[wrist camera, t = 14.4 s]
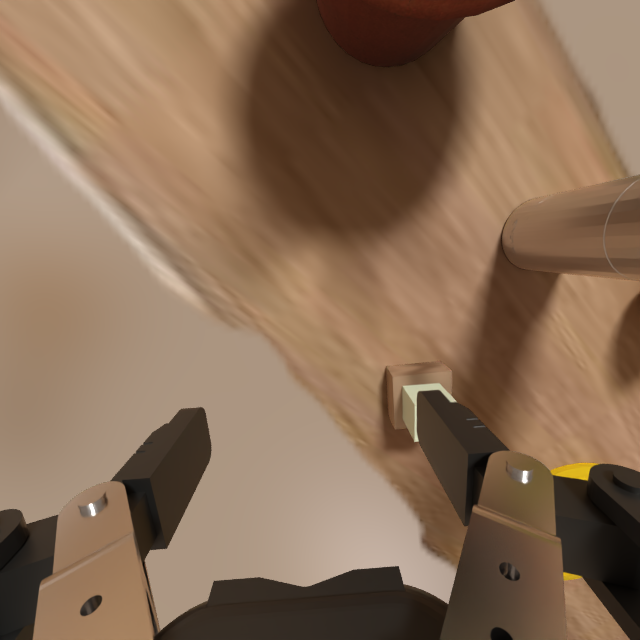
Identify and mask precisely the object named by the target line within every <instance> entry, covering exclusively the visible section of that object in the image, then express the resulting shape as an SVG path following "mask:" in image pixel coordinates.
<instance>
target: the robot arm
mask: <svg viewBox="0 0 640 640" xmlns="http://www.w3.org/2000/svg"><path fill="white" fill-rule="evenodd" d="M502 245H503V249H504V252H505V254H506V256H507V258H508V259H509V260H510V262H511V263H513V264H514V265H515V266H517V267H519V268H522V269H526V270H534V271H544V272H553V273H563V274H573V275H584V276H594V277H604V278H614V279H624V280H635V281H640V175H636V176H631V177H627V178H623V179H618V180H614V181H610V182H605V183H601V184H596V185H592V186H588V187H583V188H579V189H574V190H570V191H566V192H561V193H556V194H552V195H548V196H543V197H539V198H535V199H531V200H529V201H527V202H525V203H523V204H521V205H520V206H519V207H518V208H516V209H515V210H514V212H513V213H512V214H511V215H510V217H509V218H508V220H507V222H506V224H505V227H504V229H503V235H502ZM417 436H418V440H419V444H420V446H421V448H422V450H423V452H424V453H425V455H426V457H427V459H428V461H429V463H430V464H431V466H432V468H433V470H434V472H435V473H436V475H437V477H438V479H439V481H440V483H441V484H442V486H443V488H444V490H445V492H446V494H447V495H448V497H449V499H450V501H451V503H452V505H453V506H454V508H455V510H456V512H457V514H458V515H459V517H460V519H461V521H462V523H463V525H464V526H468V529H467V533H466V537H465V541H464V545H463V549H462V553H461V557H460V561H459V565H458V569H457V573H456V577H455V581H454V584H453V588H452V592H451V596H450V601H449V604H447V603H445V602H444V601H442V600H441V599H439V598H437V597H436V596H434V595H432V594H430V593H428V592H426V591H424V590H421V589H418V588H415V587H412V586H409V585H404V584H403V581H402V577H401V573H400V570H399V566H395V567H382V568H370V569H357V570H352V571H349V572H346V573H344V574H341V575H338V576H336V577H333V578H330V579H328V580H325V581H322V582H320V583H317V584H315V585H312V586H308V587H301V586H296V585H292V584H287V583H283V582H278V581H274V580H269V579H264V578H260V577H258V578H246V579H233V580H221V581H214V582H213V586H212V589H211V592H210V596H209V599H208V601H206V602H204V603H202V604H199V605H197V606H195V607H193V608H192V609H190V610H188V611H187V612H185V613H183V614H182V615H180V616H179V617H177V618H176V619H175V620H173V621H172V622H171V623H169V624H168V625H167V626H166V627H164V628H163V629H162V630H161V631H160V627H159V623H158V618H157V613H156V608H155V604H154V600H153V595H152V591H151V586H150V581H149V577H148V572H147V567H146V564H145V558H146V556H147V554H148V553H149V551H150V550H156V549H167V547H168V545H169V543H170V541H171V539H172V537H173V535H174V533H175V531H176V529H177V527H178V525H179V523H180V521H181V518H182V516H183V514H184V512H185V510H186V508H187V506H188V504H189V502H190V500H191V498H192V496H193V494H194V492H195V490H196V488H197V485H198V484H199V481H200V479H201V477H202V475H203V473H204V471H205V469H206V467H207V465H208V463H209V461H210V457H211V440H210V435H209V429H208V424H207V418H206V413H205V410H204V409H203V408H202V407H200V408H188V409H187V408H186V409H181V410H179V412H178V413H177V414H176V415H175V416H174V418H173V419H172V420H171V421H170V422H169V423H168V424H164V425H163V426H162V427H160V428H159V429H157V430H156V431H154V432H153V433H152V434H151V435H150V436H149V437H148V438H147V440H146V441H145V442H144V444H143V445H141V446H140V448H139V449H138V450H137V451H136V454H133V456H132V457H131V458H130V459H129V460H128V461H127V462H126V464H125V465H124V466H123V467H122V468H121V469H120V471H119V472H118V473H117V474H116V475H115V476H114V477H113V479H112V480H111V481H110V482H104V483H101V484H98V485H95V486H92V487H90V488H88V489H86V490H84V491H83V492H81V493H79V494H78V495H76V496H75V497H74V498H72V499H71V500H70V501H69V502H68V503H67V504H66V505H65V506H64V507H63V508H62V510H61V511H60V513H59V515H56V516H52V517H49V518H46V519H43V520H39V521H36V522H32V523H29V524H26V522H25V520H24V517H23V514H22V512H21V511H20V510H17V509H9V510H3V511H0V640H567V627H566V610H565V594H564V578H563V572H565V573H569V574H573V575H578V576H582V577H583V578H584V580H585V581H586V582H587V584H588V585H589V586H590V588H591V589H592V590H593V592H594V593H595V594H596V596H597V597H598V598H599V599H600V601H601V602H602V603H603V605H604V606H605V607H606V609H607V610H608V611H609V613H610V614H611V615H612V617H613V618H614V619H615V620H616V622H617V623H618V624H619V626H620V627H621V628H622V630H623V631H624V632H625V634H626V635H627V636H628V637H629V639H630V640H640V472H638V471H635V470H632V469H629V468H626V467H623V466H618V465H613V464H598V465H594V466H593V467H591V469H590V471H589V477H588V480H582V479H575V478H569V477H562V476H556V475H552V473H551V472H550V470H549V469H548V468H547V467H546V466H545V465H544V464H542V463H541V462H540V461H538V460H536V459H534V458H533V457H530V456H528V455H526V454H523V453H519V452H514V451H510V450H509V449H508V448H507V447H506V446H505V445H504V444H503V443H502V442H501V441H500V440H499V439H498V438H497V437H496V436H495V435H494V434H493V433H492V432H491V431H490V430H489V429H488V428H487V427H485V425H484V424H483V423H482V422H481V421H480V420H478V418H477V417H476V416H475V415H474V414H473V413H472V412H471V411H470V409H468V408H466V407H464V406H463V405H461V404H459V403H457V402H450V401H449V400H448V399H447V397H446V396H445V395H444V394H443V393H442V392H441V391H440V390H428V391H418V393H417Z"/></svg>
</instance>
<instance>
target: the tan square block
mask: <svg viewBox="0 0 640 640" xmlns="http://www.w3.org/2000/svg"><path fill="white" fill-rule="evenodd" d="M386 376H387V398H388V416H389V418H390V420H391V422H392V425H393V427H394V429H395V430H397V429H407V426H406V424H405V423H404V421H403V397H402V386H409V385H422V384H435V383H440V384H441V385H442V387H443V388H444V389H445V390H446V391H447V392H448V393H449V394H450V395H451V396H452V370H450V369H449V368H448V367H447V366H446V365H445V364H444V363H442V362H441V361H436V362H426V363H415V364H405V365H395V366H386Z"/></svg>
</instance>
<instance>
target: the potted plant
mask: <svg viewBox="0 0 640 640" xmlns="http://www.w3.org/2000/svg"><path fill="white" fill-rule="evenodd" d="M316 1H317V4H318V8H319V12H320V15H321V17H322V19H323V22H324V24H325V26H326V28H327V30H328V32H329V33H330V34H331V36H332V37H333V39H334V40H335V41H336V43H337V44H338V45H339V46H340V47H341V48H342V49H343V50H345V51H346V52H347V53H348V54H349V55H351V56H352V57H354V58H356V59H358V60H359V61H361V62H364V63H367V64H370V65H373V66H382V67H391V66H398V65H403V64H406V63H408V62H411V61H413V60H416V59H417V58H419V57H420V56H422V55H423V54H425V53H426V52H428V51H429V50H430V49H431V48H432V47H433V46H434V45H436V44H437V43H438V42H439V41H440V40H441V39H442V38H443V37H444V36H445V35H446V34H448V33H449V32H450V31H451V30H452V29H453V28H454V27H455V26H456V25H457V24H458V23H459V22H461V21H462V20H463V19H464V18H465V17H469V16H475V15H479V14H482V13H484V12H487V11H489V10H492V9H494V8H497V7H500V6H502V5H505V4H507V3H510V2H512V1H514V0H316Z"/></svg>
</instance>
